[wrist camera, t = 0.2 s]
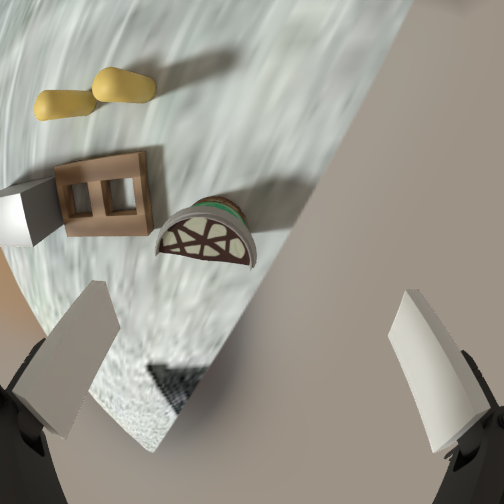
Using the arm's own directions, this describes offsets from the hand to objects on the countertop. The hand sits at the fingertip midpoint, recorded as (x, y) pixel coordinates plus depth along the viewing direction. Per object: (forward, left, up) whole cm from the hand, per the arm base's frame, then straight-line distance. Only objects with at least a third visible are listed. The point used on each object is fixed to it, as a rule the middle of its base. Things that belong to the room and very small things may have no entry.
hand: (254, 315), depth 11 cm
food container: (+5, -6, -28) cm, 29 cm away
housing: (+2, -41, -28) cm, 50 cm away
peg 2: (-13, -16, -28) cm, 35 cm away
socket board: (+2, -24, -28) cm, 37 cm away
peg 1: (-13, -26, -28) cm, 40 cm away
